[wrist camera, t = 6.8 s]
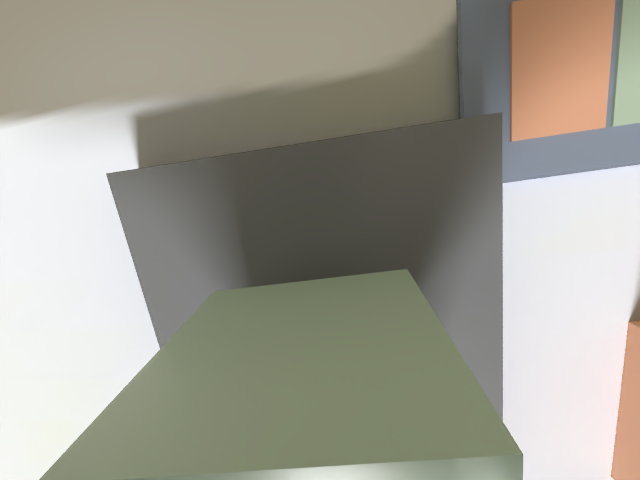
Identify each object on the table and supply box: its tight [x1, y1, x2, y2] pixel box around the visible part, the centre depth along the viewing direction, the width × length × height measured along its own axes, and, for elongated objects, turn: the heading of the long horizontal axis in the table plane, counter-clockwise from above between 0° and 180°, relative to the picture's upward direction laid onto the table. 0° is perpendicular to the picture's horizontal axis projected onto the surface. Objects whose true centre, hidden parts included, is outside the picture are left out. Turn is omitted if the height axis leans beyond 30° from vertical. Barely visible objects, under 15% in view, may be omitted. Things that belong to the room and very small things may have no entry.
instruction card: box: [456, 0, 640, 183], centre depth 9 cm, size 6×8×1 cm
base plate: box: [106, 112, 503, 421], centre depth 11 cm, size 14×11×2 cm
